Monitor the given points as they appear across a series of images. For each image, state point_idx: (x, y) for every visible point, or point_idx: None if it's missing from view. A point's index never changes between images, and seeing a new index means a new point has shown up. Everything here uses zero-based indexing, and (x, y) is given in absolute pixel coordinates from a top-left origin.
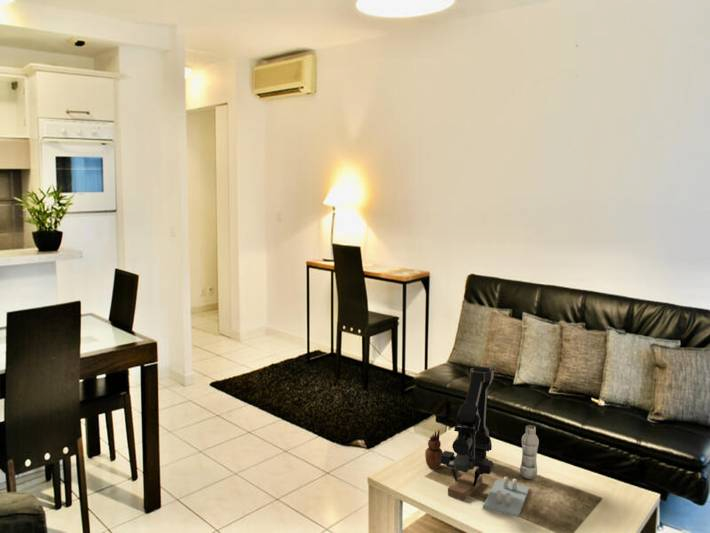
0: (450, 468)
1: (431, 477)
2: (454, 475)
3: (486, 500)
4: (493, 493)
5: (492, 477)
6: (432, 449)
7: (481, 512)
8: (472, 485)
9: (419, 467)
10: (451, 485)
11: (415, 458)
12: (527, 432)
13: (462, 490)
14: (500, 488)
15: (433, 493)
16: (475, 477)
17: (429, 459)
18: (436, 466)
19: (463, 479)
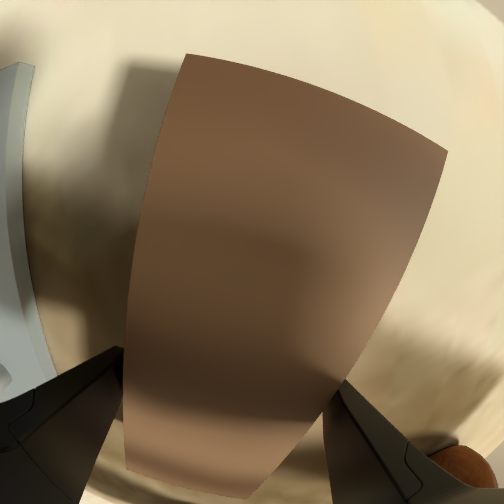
0: (484, 490)
1: (480, 379)
2: (385, 432)
3: (2, 162)
4: (2, 296)
5: (120, 463)
6: None
7: (48, 13)
8: (126, 348)
9: (496, 419)
10: (409, 247)
11: (481, 454)
12: None
13: (212, 141)
14: (12, 366)
15: (500, 159)
16: (30, 414)
17: (484, 472)
18: (435, 462)
19: (257, 426)
